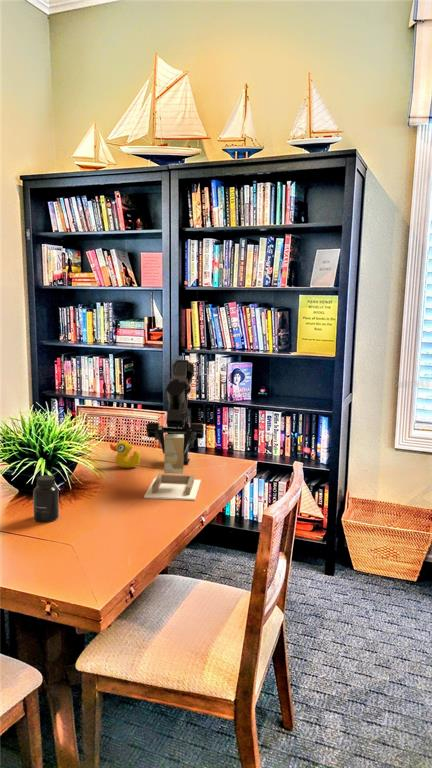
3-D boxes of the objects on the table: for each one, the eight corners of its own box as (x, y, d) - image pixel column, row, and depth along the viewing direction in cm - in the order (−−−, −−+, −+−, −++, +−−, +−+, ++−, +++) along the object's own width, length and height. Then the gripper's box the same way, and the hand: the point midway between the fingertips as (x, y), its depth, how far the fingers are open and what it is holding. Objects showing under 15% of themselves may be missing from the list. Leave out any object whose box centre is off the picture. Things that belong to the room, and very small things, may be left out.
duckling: (108, 468, 202) (107, 442, 200) (112, 464, 207) (111, 438, 206) (138, 470, 201) (138, 443, 200) (142, 465, 206) (142, 439, 205)
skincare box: (164, 473, 179) (163, 437, 177) (164, 469, 183) (164, 433, 181) (183, 473, 179) (183, 437, 177) (184, 469, 184) (184, 433, 181)
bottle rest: (154, 479, 192) (154, 470, 191) (200, 481, 190) (201, 472, 190) (144, 498, 174) (144, 488, 173) (194, 500, 173) (195, 490, 172)
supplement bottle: (36, 524, 152) (34, 483, 150) (31, 516, 158) (30, 475, 156) (61, 520, 155) (60, 479, 153) (56, 512, 161) (55, 472, 159)
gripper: (146, 398, 181) (142, 440, 172) (203, 399, 181) (202, 441, 172) (149, 416, 190) (145, 457, 181) (204, 417, 190) (202, 458, 181)
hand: (173, 453), depth 179 cm, fingers closed on skincare box, 6 cm apart
